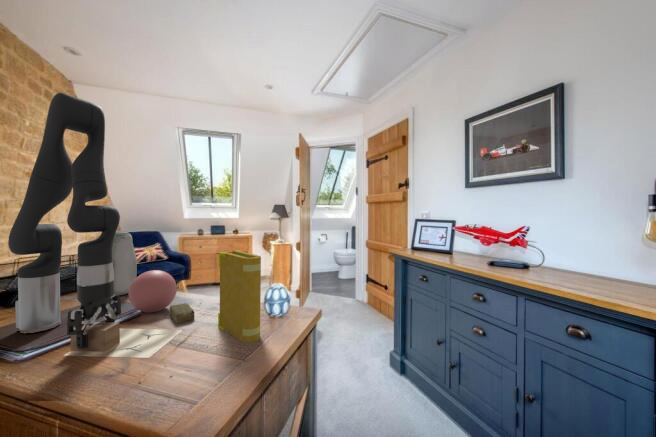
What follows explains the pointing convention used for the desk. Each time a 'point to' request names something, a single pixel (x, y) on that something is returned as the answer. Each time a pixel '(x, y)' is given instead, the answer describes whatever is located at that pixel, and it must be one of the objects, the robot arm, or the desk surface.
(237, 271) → the book
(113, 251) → the grey vase
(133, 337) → the birch board
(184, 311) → the stone block
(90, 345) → the block
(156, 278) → the pink egg
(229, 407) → the desk surface
